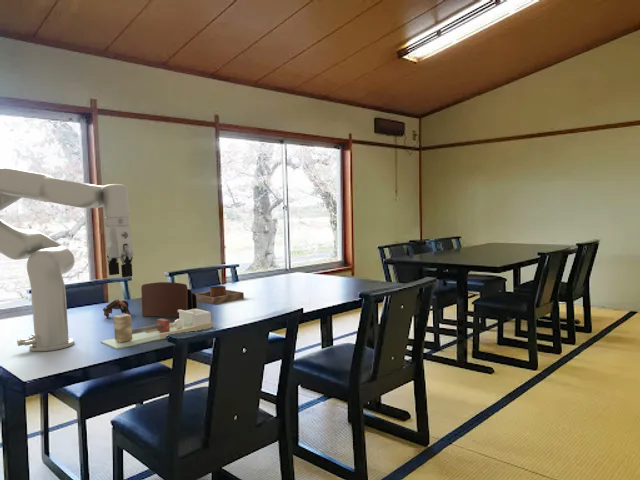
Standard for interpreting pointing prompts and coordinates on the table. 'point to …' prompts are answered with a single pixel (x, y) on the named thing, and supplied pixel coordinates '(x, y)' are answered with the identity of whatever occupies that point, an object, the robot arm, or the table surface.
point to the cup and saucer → (217, 291)
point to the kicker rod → (125, 329)
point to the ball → (178, 323)
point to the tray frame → (221, 299)
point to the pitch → (192, 322)
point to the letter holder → (166, 299)
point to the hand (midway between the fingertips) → (120, 275)
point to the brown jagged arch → (117, 307)
